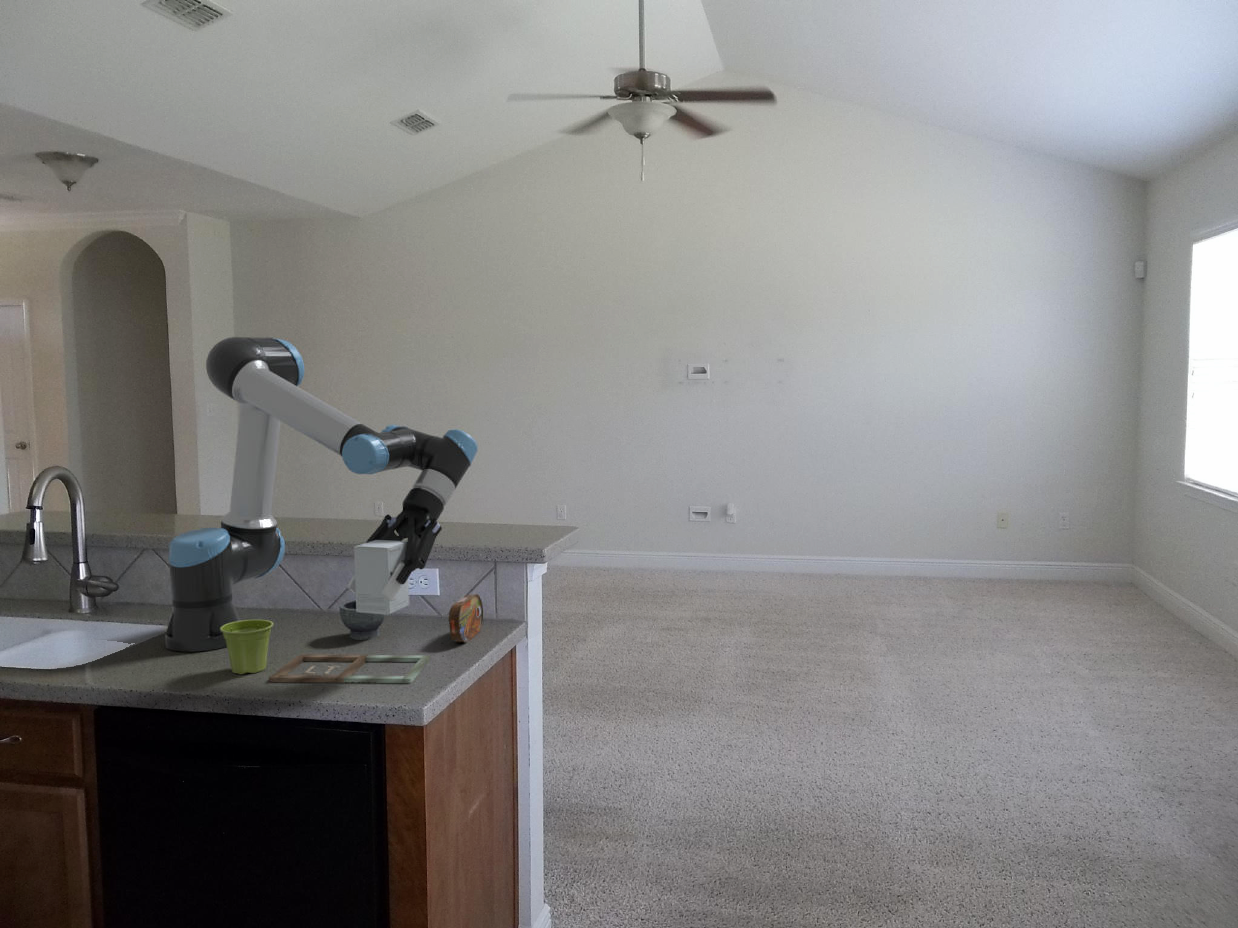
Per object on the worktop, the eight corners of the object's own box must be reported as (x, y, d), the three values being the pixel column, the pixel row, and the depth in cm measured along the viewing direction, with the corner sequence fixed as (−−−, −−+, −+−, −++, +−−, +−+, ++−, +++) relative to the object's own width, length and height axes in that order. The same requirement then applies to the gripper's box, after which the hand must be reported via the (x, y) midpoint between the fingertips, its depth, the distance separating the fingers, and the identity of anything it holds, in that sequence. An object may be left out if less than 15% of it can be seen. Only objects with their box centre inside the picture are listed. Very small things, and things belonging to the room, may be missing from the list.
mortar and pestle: (363, 644, 198) (360, 587, 197) (331, 638, 203) (329, 583, 202) (401, 631, 208) (399, 577, 207) (370, 625, 213) (368, 573, 212)
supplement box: (389, 615, 175) (387, 547, 174) (355, 612, 177) (352, 545, 176) (410, 605, 182) (408, 540, 181) (377, 603, 184) (374, 538, 183)
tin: (461, 647, 195) (460, 607, 195) (447, 647, 196) (445, 606, 195) (485, 627, 210) (483, 590, 209) (471, 627, 211) (470, 589, 210)
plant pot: (250, 659, 189) (247, 616, 188) (286, 665, 185) (283, 621, 184) (211, 673, 181) (209, 629, 180) (248, 680, 176) (245, 634, 176)
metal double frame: (269, 681, 175) (268, 677, 175) (299, 658, 189) (299, 654, 189) (410, 682, 174) (410, 678, 173) (430, 659, 187) (430, 655, 187)
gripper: (478, 513, 185) (421, 612, 173) (400, 505, 197) (342, 597, 185) (458, 489, 180) (398, 589, 168) (379, 483, 192) (318, 576, 180)
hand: (369, 593), depth 177 cm, fingers closed on supplement box, 9 cm apart
